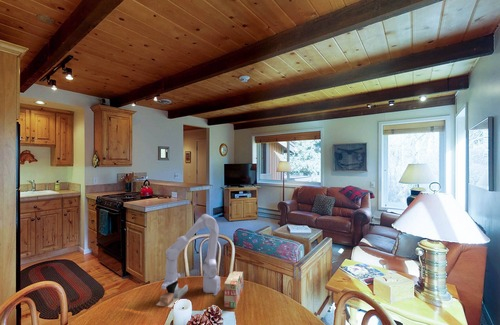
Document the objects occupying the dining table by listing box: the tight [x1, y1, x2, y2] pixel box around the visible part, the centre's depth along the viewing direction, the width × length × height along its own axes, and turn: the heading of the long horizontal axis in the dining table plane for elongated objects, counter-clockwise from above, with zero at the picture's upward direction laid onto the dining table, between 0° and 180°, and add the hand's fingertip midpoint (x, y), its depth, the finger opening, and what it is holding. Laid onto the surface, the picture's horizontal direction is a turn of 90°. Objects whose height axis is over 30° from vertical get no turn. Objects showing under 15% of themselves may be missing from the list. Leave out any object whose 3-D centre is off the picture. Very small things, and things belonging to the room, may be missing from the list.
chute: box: [155, 283, 190, 308], centre depth 124 cm, size 9×18×4 cm, turn 167°
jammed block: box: [159, 291, 174, 307], centre depth 118 cm, size 5×5×4 cm
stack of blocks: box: [223, 271, 244, 309], centre depth 127 cm, size 21×6×12 cm, turn 171°
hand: (170, 296), depth 122 cm, fingers closed
